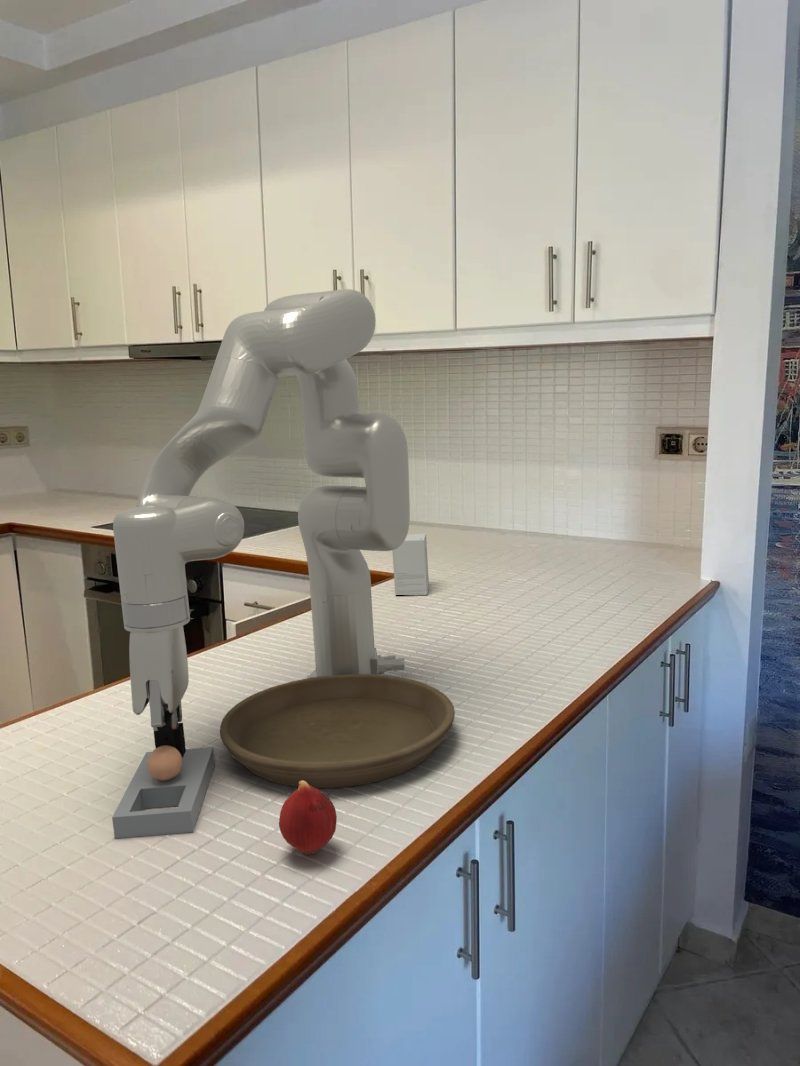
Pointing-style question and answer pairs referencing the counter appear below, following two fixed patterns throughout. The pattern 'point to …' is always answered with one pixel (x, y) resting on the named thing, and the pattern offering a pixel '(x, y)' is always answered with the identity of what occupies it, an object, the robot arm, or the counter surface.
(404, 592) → the supplement box
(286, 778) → the plant saucer
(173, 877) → the counter surface
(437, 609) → the counter surface
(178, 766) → the ball
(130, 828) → the block
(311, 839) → the onion
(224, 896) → the counter surface
